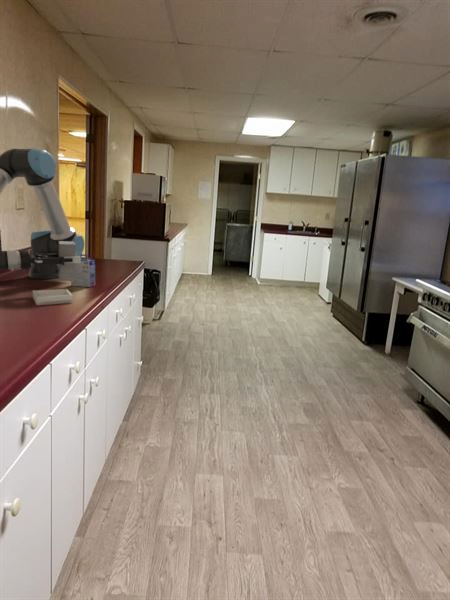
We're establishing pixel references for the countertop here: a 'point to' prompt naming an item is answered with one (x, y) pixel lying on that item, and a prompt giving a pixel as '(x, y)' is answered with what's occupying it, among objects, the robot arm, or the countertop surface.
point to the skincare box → (68, 268)
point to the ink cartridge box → (84, 273)
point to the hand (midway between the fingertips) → (78, 257)
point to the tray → (52, 296)
